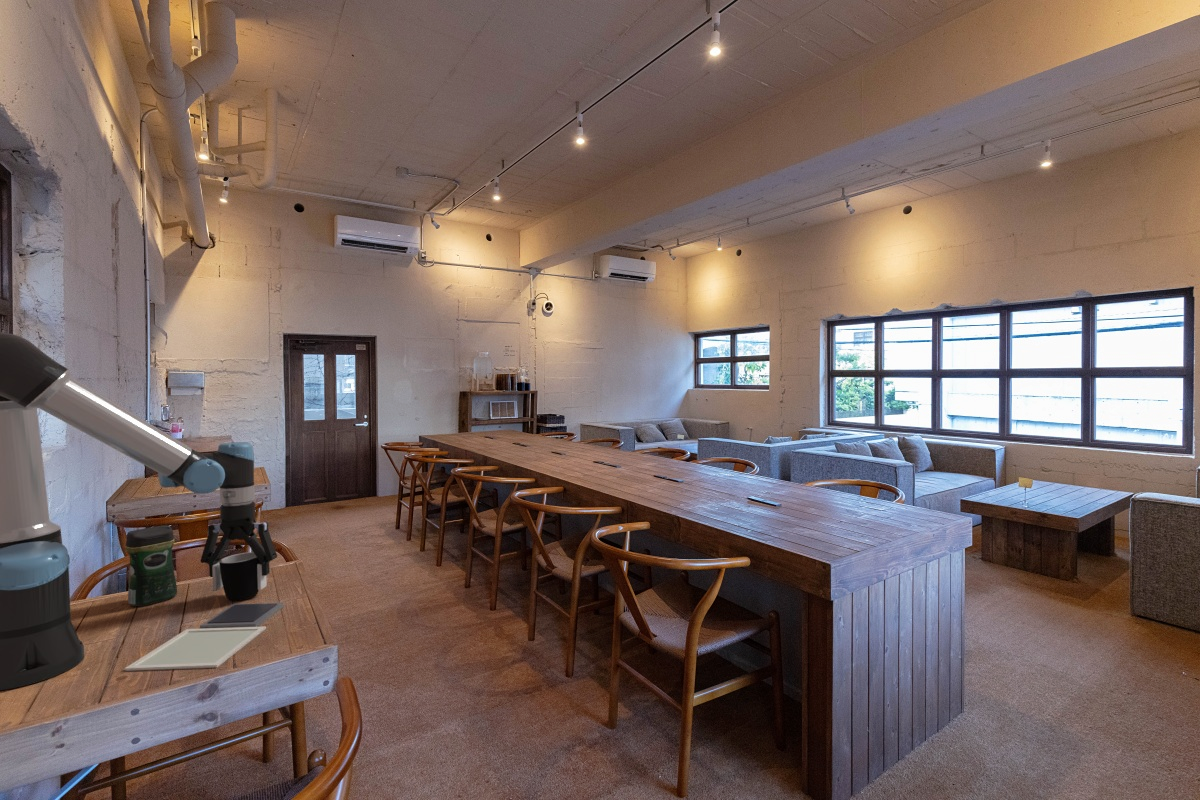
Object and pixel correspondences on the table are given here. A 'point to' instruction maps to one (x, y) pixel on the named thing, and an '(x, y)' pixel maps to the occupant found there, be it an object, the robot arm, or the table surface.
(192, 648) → the marked square
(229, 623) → the ink pad
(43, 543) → the robot arm
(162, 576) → the coffee jar
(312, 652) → the table surface
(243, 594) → the mug
